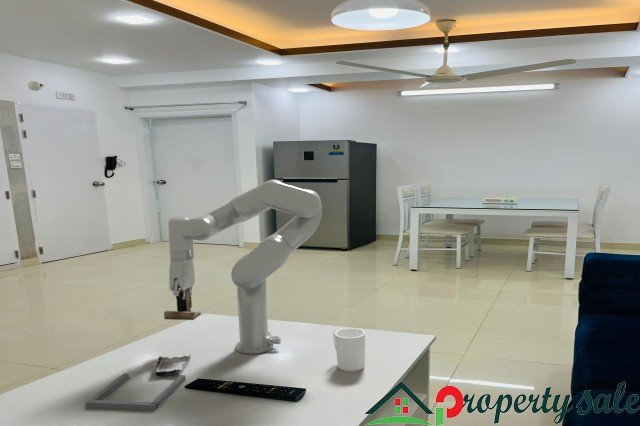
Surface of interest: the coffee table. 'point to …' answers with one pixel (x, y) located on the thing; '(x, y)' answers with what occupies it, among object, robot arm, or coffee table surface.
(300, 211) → the robot arm
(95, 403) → the bay
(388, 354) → the coffee table surface
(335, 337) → the mug
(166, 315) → the tan l-shaped bracket
